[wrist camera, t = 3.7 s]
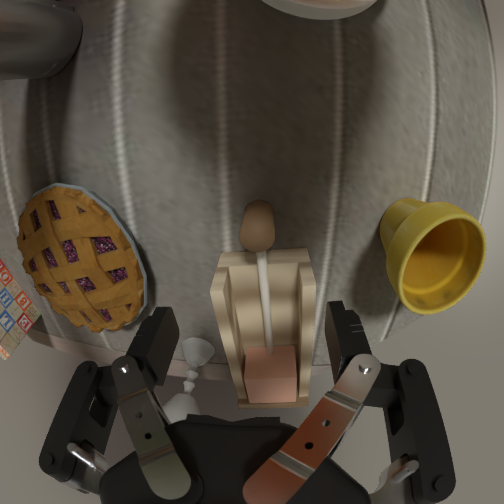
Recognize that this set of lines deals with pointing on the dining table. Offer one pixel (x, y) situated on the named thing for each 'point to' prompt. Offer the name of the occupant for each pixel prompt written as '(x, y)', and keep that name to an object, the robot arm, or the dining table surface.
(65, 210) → the pie
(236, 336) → the light wooden box
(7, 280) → the stack of blocks
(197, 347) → the chalice
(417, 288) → the plant pot
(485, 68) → the dining table surface
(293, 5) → the potted cactus
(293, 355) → the pull block
